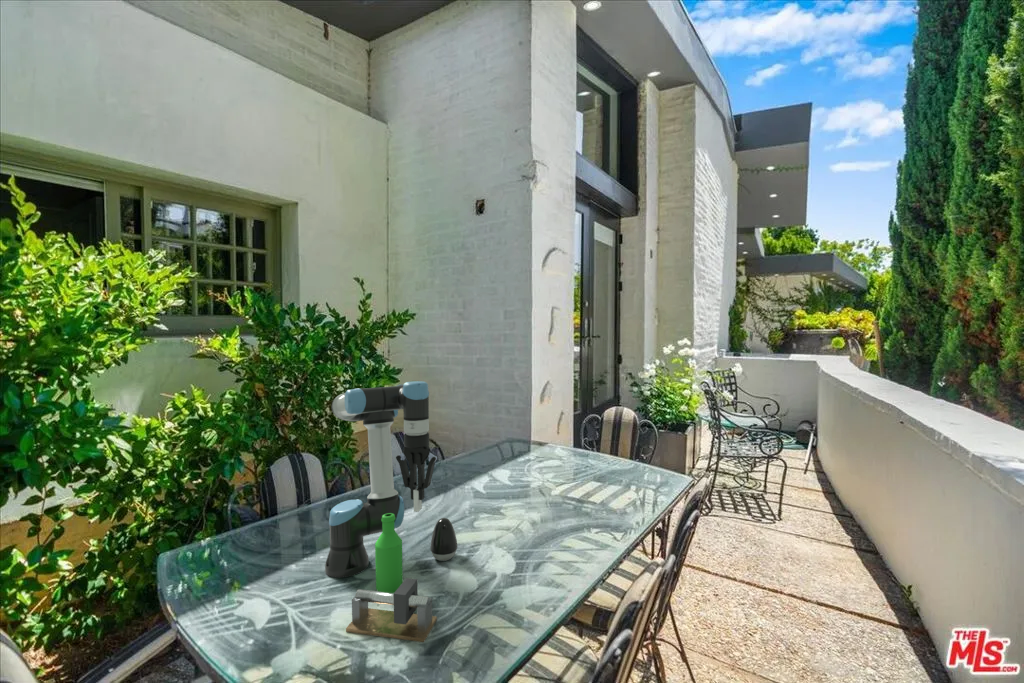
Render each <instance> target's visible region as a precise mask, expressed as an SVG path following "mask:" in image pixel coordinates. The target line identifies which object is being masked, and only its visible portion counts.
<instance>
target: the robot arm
mask: <svg viewBox="0 0 1024 683" xmlns="http://www.w3.org/2000/svg"><path fill="white" fill-rule="evenodd" d="M429 396H430V392H429V384H428V382H427V381H424V380H423V381H421V380H418V381H416V380H415V381H406V382H404V383H403V384H398V385H394V386H393V385H392V386H380V387H369V388H368V387H367V388H352V389H347V390H346V391H345V392H344V393H341V394H339V395H337V396H335V398H334V399H333V400H332V402H331V412H332V413H333V415H334V416H335V417H336V418H337V419H339V420H342V421H346V422H347V421H348V422H360V421H362V423H363V424H362V425H363V426H364V427H365V428H366V430H367V438H368V440H367V442H368V443H367V444H368V462H369V478H370V493H369V494H368V495H367V497H366V500H367V502H363V501H362V500H361V499H348V500H345V501H340V503H338V504H335V506H333V507H331V510H330V511H329V520H328V525H329V551H328V554H327V558H326V561H325V564H324V572H325V574H326V575H327V576H328V577H331V578H339V579H340V578H342V579H343V578H347V577H353V576H356V575H357V574H360V573H362V572H364V571H365V570H366V569H367V568H368V567H369V563H370V561H369V560H370V559H369V554H368V552H367V550H366V546H365V544H364V543H365V542H364V537H365V536H370V535H375V534H378V533H382V532H383V527H382V521H381V519H382V516H383V515H384V514H387V513H392V514H394V515H395V520H394V530H395V529H399V527H401V525H402V524H403V522H404V519H405V504H404V499H403V497H402V496H401V495H399V492H398V490H396V489H395V484H394V483H395V482H394V481H395V480H394V470H393V469H394V467H393V450H392V435H391V434H392V433H391V427H392V425H393V424H394V422H395V418H397V417H398V415H399V410H400V411H401V410H403V433H404V434H403V446H404V448H403V450H402V453H399V454H398V455H396V456H395V459H396V462H398V465H399V468H400V472H401V476H402V481H403V486H404V487H405V488H409V489H410V499H411V501H412V500H413V512H414V513H419V512H420V511H422V509H423V505H422V503H423V501H424V499H425V489H427V488H428V487H430V486H431V483H432V479H433V474H434V470H435V469H434V468H435V465H436V462H437V460H438V458H439V456H438V454H435V455H434V454H433V453H431V452H432V451H431V448H430V433H429V431H430V413H429V412H430V406H429V405H430V404H429V402H430V399H429V398H430V397H429ZM427 460H428V461H429V462H428V464H427V469H425V465H426V461H427ZM425 470H426V471H425ZM425 472H426V473H425Z"/></svg>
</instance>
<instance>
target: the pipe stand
mask: <svg viewBox="0 0 1024 683" xmlns="http://www.w3.org/2000/svg"><path fill="white" fill-rule="evenodd" d="M394 593H395V592H394ZM394 593H388V592H380V591H377V590H369V589H360V588H359V589H357V590H356V592H355V596H354V597H353V598H351V617H352V618H351V621H350V623H349V624H348V625H347V626H346V627H345V632H346V633H352V634H360V635H365V636H366V635H368V636H376V637H382V638H383V637H384V638H389V639H397V640H404V641H411V642H413V641H414V642H420V643H424V642H425V641H426V639H427V637H428V636H429V634H430V633H431V631H432V629H433V628H434V626H435V624H436V622H437V620H438V616H435V615H433V598H432V597H429V596H424V595H423V596H421V595H418V596H415V595H411V596H410V597H409V607H415V608H417V609H416V611H417V613H413V615H412V616H411V618H410V619H409V621H408V622H407V624H398V623H394V610H385V609H378V608H371V607H369V603H374V604H383V605H391V606H394Z"/></svg>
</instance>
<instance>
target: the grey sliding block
mask: <svg viewBox="0 0 1024 683" xmlns="http://www.w3.org/2000/svg"><path fill="white" fill-rule="evenodd" d="M403 580H404V581H403V583H402V584H401V585H400V586H399V588H398V589H397V590H396V591H395V592H394V605H393V611H394V623H398V624H407V622H408V621H409V619H410V618H411V616H412V615H413V614H415V612H416V611H417V608H415V607H409V597H410V596H411V595H415V596H419V591H418V590H419V588H418V587H419V585H418V579H417V578H410V577H406V578H405V579H403Z"/></svg>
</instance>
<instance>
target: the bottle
mask: <svg viewBox="0 0 1024 683" xmlns="http://www.w3.org/2000/svg"><path fill="white" fill-rule="evenodd" d="M394 520H395V515H394V514H392V513H387V514H384V515H383V516H382V519H381V521H382V527H383V532H381V534H380V535H379V537H378V539H377V540H376V542H375V544H374V548H375V549H374V550H375V551H374V552H375V556H374V557H375V561H374V562H375V589H376V591H380V592H388V593H395V591H396V590H397V589H398V588H399V586H400V585H401V584H402V583H403V580H404V578H403V577H404V576H403V575H404V573H403V571H404V570H403V565H404V563H403V539H402V538H401V537H400V535H399V534H398V533H397V531H396V530H395V529H394Z"/></svg>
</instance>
